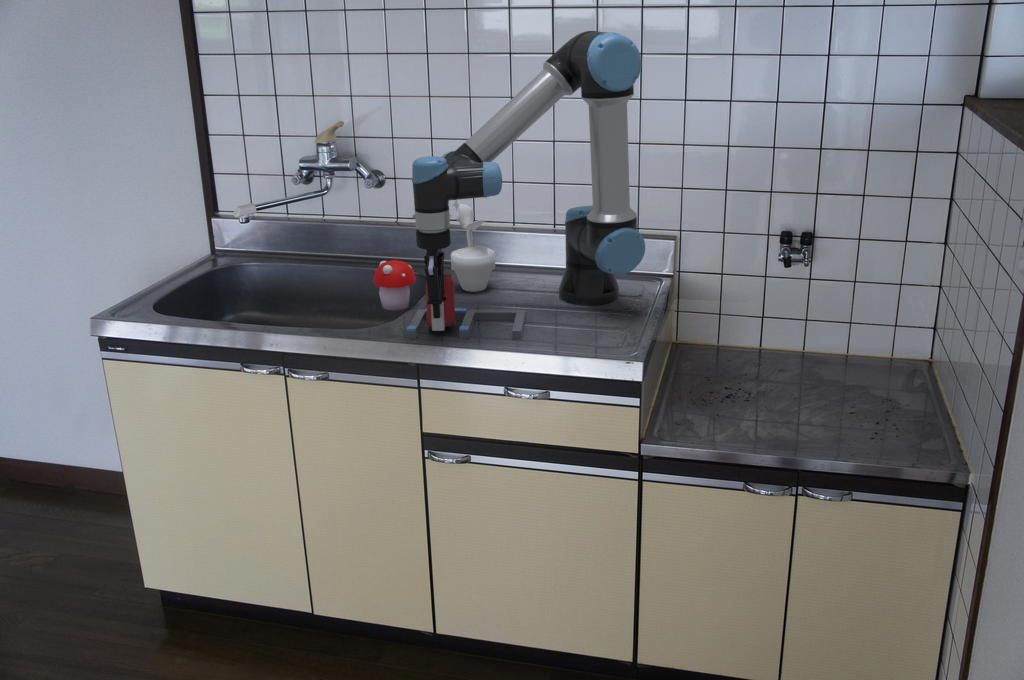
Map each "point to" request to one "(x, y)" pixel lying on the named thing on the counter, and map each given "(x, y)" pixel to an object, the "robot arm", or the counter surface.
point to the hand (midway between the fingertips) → (438, 329)
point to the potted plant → (471, 255)
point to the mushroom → (394, 284)
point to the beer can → (448, 304)
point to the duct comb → (472, 321)
